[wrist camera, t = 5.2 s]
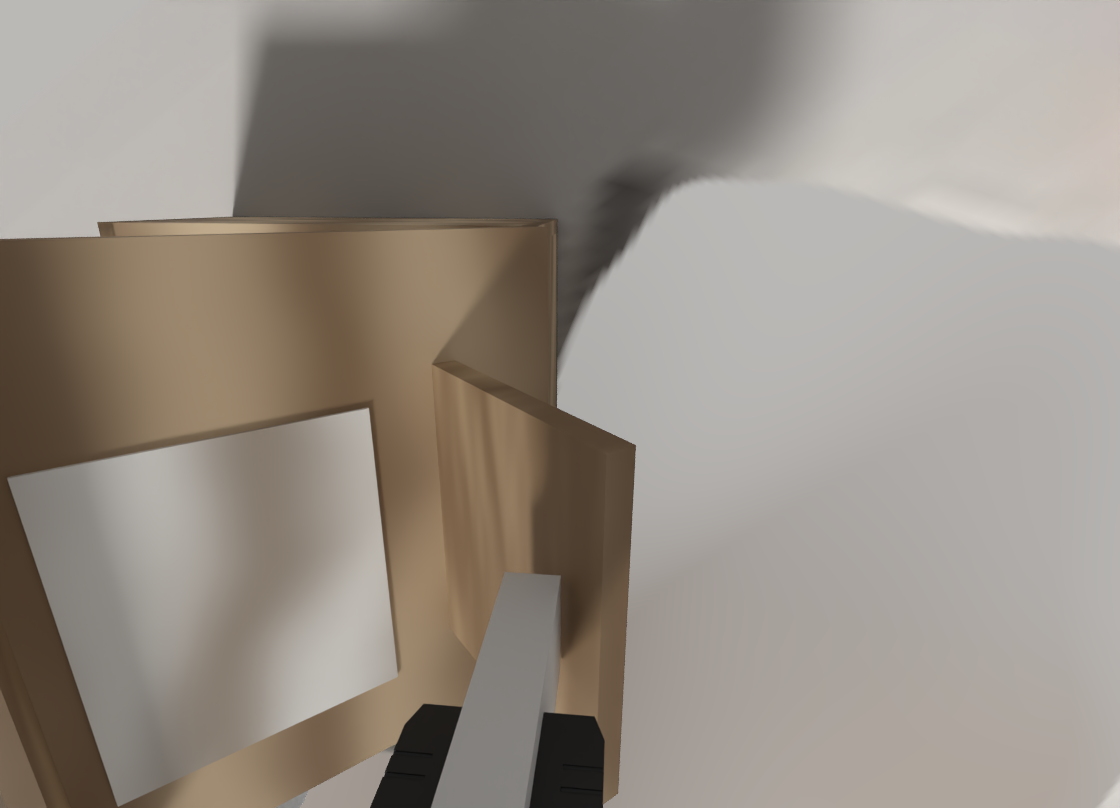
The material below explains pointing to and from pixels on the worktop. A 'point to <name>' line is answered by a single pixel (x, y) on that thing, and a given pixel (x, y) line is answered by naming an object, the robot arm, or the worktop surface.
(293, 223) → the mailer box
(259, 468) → the lid
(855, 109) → the worktop surface
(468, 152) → the worktop surface
